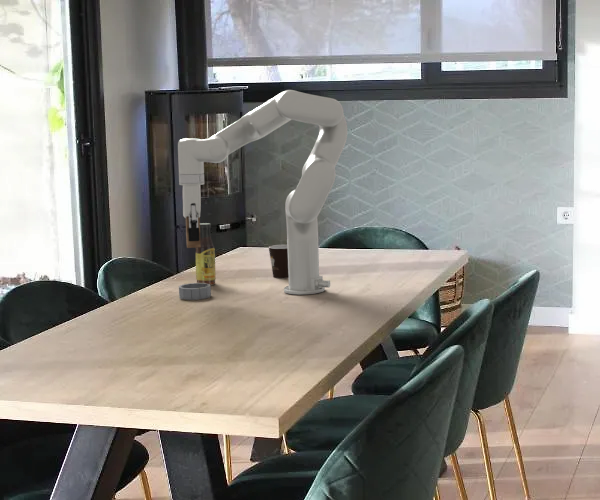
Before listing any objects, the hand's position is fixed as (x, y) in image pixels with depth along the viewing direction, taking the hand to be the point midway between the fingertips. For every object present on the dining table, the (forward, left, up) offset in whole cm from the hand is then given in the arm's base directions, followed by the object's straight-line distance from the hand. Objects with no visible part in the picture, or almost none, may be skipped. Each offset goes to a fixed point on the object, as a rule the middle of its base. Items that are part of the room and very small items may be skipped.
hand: (193, 239), depth 339 cm
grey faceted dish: (0, 0, -18) cm, 18 cm away
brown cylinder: (0, 0, -2) cm, 2 cm away
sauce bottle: (+8, -18, -18) cm, 27 cm away
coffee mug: (-8, -40, -18) cm, 45 cm away
